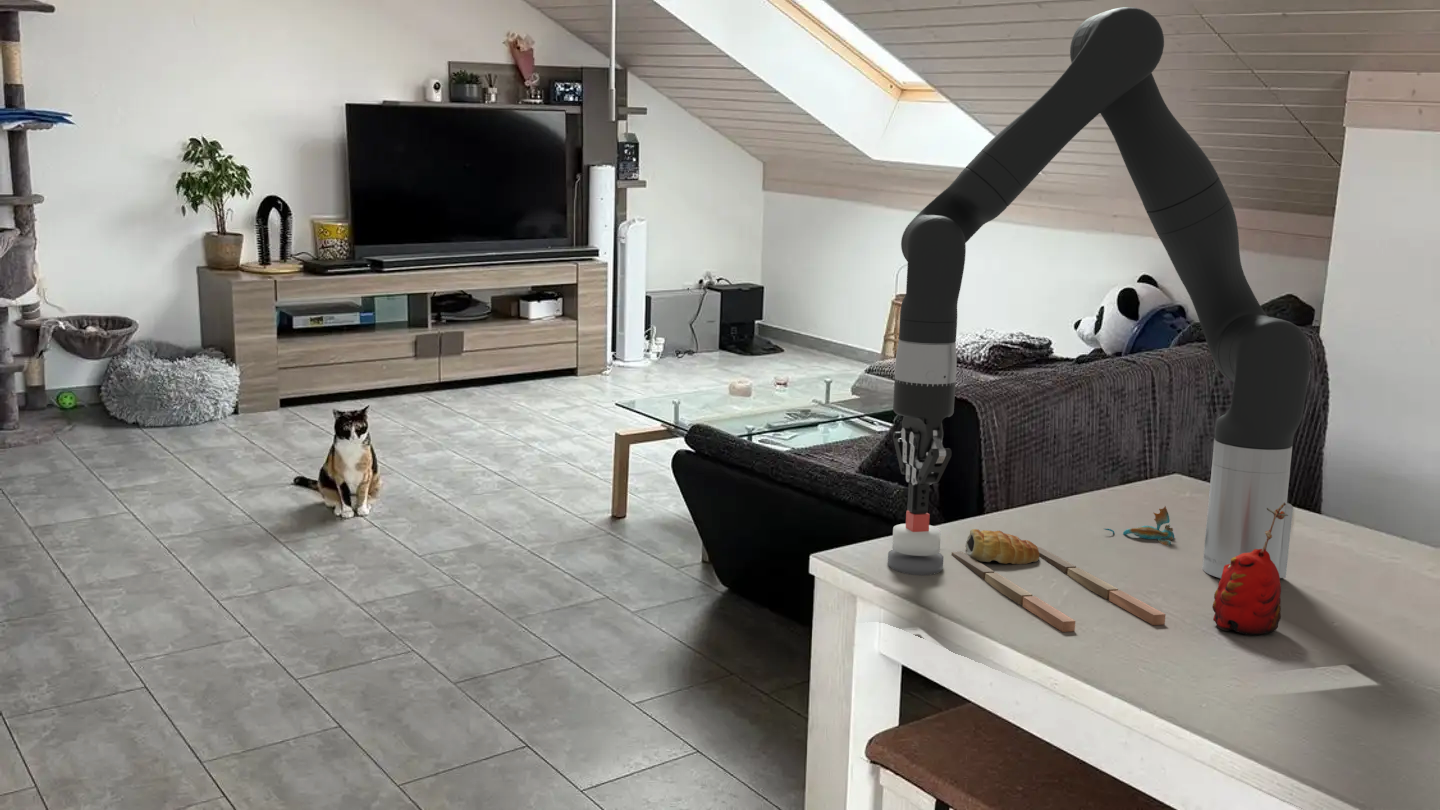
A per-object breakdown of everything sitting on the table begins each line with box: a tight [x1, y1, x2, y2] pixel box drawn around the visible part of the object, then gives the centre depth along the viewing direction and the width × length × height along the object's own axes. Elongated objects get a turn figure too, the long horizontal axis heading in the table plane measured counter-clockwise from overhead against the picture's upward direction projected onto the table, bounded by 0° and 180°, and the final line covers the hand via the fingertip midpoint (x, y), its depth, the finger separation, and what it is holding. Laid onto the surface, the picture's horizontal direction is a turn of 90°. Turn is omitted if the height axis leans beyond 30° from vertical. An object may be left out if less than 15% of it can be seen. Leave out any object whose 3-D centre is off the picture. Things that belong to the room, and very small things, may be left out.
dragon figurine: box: [1104, 505, 1175, 547], centre depth 181 cm, size 6×7×8 cm
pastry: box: [965, 528, 1040, 565], centre depth 170 cm, size 9×7×4 cm
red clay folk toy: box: [1212, 503, 1288, 636], centre depth 145 cm, size 8×7×15 cm
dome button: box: [891, 510, 942, 556], centre depth 165 cm, size 6×6×5 cm
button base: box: [887, 549, 944, 576], centre depth 165 cm, size 7×7×2 cm
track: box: [951, 546, 1167, 633], centre depth 159 cm, size 13×28×1 cm, turn 16°
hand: (917, 512), depth 164 cm, fingers closed
